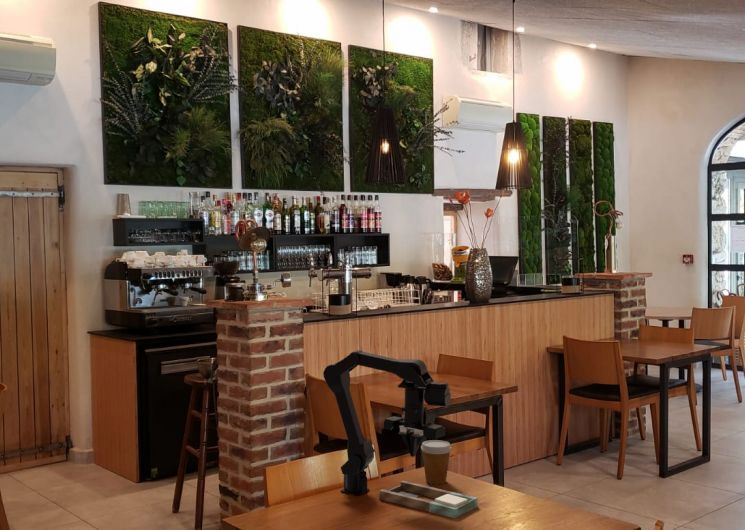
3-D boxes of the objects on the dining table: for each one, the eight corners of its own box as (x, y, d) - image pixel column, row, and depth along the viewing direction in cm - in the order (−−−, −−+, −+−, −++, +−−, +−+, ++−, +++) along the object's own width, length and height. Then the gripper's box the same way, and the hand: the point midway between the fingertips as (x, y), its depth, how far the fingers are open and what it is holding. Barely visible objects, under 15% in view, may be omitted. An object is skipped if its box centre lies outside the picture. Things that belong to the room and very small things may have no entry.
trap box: (379, 499, 239) (379, 490, 239) (403, 488, 249) (403, 480, 248) (455, 518, 223) (455, 509, 223) (477, 506, 233) (477, 497, 233)
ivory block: (434, 511, 230) (434, 498, 230) (447, 505, 234) (447, 493, 234) (454, 517, 225) (454, 504, 225) (467, 511, 230) (467, 499, 229)
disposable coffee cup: (449, 487, 250) (449, 448, 249) (418, 485, 252) (418, 446, 251) (452, 478, 259) (452, 440, 259) (423, 476, 261) (423, 439, 261)
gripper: (456, 403, 238) (454, 456, 239) (404, 394, 250) (403, 444, 250) (435, 410, 229) (433, 465, 230) (382, 400, 241) (381, 452, 242)
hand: (413, 456), depth 238 cm, fingers closed
